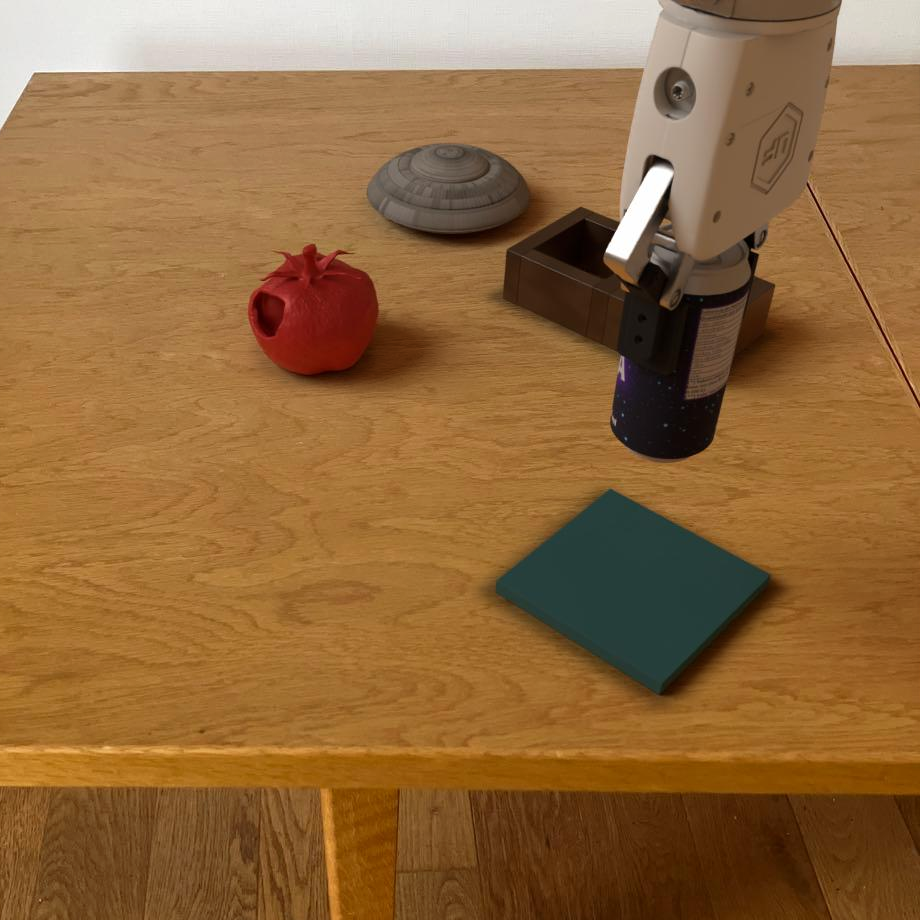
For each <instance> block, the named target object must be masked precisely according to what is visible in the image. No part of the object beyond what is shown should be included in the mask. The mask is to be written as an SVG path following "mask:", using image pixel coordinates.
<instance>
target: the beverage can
mask: <svg viewBox="0 0 920 920" xmlns="http://www.w3.org/2000/svg"><path fill="white" fill-rule="evenodd" d="M659 228H661V229H663V230H666V231H668V232H671V233H673V229H672V223H671V222H670V223H667V224H664V225H662V226H661V225H660V227H659ZM675 255H676V253H674V252H671V251H669V250H666V249H664V248H661V247H659V246H656V245H655V248H654V251H653V253H652V256H651V259H650V261H651V262H652V263H654V264H656V265H658V266H660V267H661V269H662V270H663V271H664V273H665V274H666V275H667V276H668V274H669V271H670V269H671V266H672V263H673V260H674V257H675ZM748 256H749V249H748V246H747V244H746V242H745V241H744V240H743V239H742V240H741V241H739V242H738V243H736V244H735V245H733V246H732V247H730V248H729V249H727V250H725V251H724V252H722V253H720V254H719V255H717V256H715V257H713V258H710V259H707V260H703V261H699V260H695V263H694V266H693V269H692V271H691V274H690V277H689V280H688V282H687V285H686V288H685V290H684V293H683V296H682V298H681V301H683V302H685V303H688V304H689V306H688V311H687V316H686V320H685V325H684V330H683V335H682V340H681V345H680V350H679V355H678V360H677V365H676V369H675V370H674V371H673V372H671V373H670V374H669V375H665V376H664V375H662V374H659V373H657V372H655V371H653V370H651V369H649V368H647V367H644V366H642V365H640V364H638V363H636V362H634V361H632V360H629V359H627V358H625V357H623V356H621V355H620V354H619V355H620V356H619V362H618V369H617V375H616V381H615V387H614V394H613V400H612V405H611V412H610V417H609V426H610V429H611V431H612V433H613V435H614V436H615V438H616V439H617V440H618V441H619V442H620V443H621V444H623V445H624V447H625V448H626V449H627V450H628V451H629V452H630V453H631V454H633V455H634V456H636V457H638V458H640V459H642V460H645V461H648V462H651V463H652V462H653V463H658V464H675V463H679V462H683V461H685V460H687V459H689V458H690V457H694V456H695V455H696V456H697V455H698V454H700V453H702V452H704V451H705V450H706V449H707V448H709V446H711V445H712V443H713V441H714V439H715V434H716V430H717V426H718V423H719V418H720V414H721V410H722V406H723V401H724V396H725V393H726V389H727V384H728V381H729V380H728V379H729V375H730V373H731V372H730V371H731V367H732V363H733V359H734V357H733V355H734V351H735V346H736V342H737V338H738V334H739V329H740V325H741V321H742V317H743V313H744V308H745V304H746V300H747V296H748V291H749V287H750V283H751V279H752V273H751V269H750V266H749V263H748V260H747V259H748Z"/></svg>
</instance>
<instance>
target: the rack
mask: <svg viewBox="0 0 920 920" xmlns="http://www.w3.org/2000/svg"><path fill="white" fill-rule="evenodd" d="M620 223H621V222H620V221H618V220H615V219H614V218H610V217H608V216H605V215H603V214H600V213H598V212H595V211H593V210H591V209H589V208H586V207H583V206H579V207H577V208H575V209H574V210H572V211H570V212H569V213H567V214H565V215H563V216H561V217H560V218H558V219H556V220H554V221H553V222H551V223H549V224H548V225H545V226H544V227H543V228H541V229H539V230H538V231H536V232H534V233H532V234H530V235H529V236H526V237H525V238H524V239H522V240H519V241H518V242H517V243H515V244H513V245H511V246H510V247H508V248H506V250H505V262H504V263H505V264H504V275H503V276H504V277H503V289H502V299H504V300H506V301H508V302H511V303H513V304H515V305H517V306H519V307H521V308H523V309H526V310H527V311H530V312H532V313H533V314H537V315H538V316H541V317H543V318H545V319H547V320H549V321H551V322H554V323H556V324H558V325H560V326H562V327H564V328H566V329H569V330H571V331H573V332H575V333H577V334H580V335H581V336H584V337H586V338H587V339H590V340H592V341H594V342H596V343H599V344H601V345H603V346H605V347H607V348H609V349H611V350H614V351H615V352H618V351H617V343H618V336H619V330H620V324H621V317H622V311H623V305H624V298H625V292H626V291H625V290H622V288H621V281H620V280H619V279H618V278H617V276H616V274H615V273H614V272H613V271H612V270H611V269H610V268H609V267H608V266H607V265H606V264H605V263H604V254H605V251H606V249H607V247H608V245H609V243H610V242H611V240H612V238H613V236H614V234H615V232H616V230H617V229H618V227H619V225H620ZM578 267H580V268H582V269H585V270H587V271H590V272H591V273H594V274H597V275H599V276H601V277H603V278H605V279H602V278H601V277H599V276H597V275H594V274H591V273H589V272H587V271H584V270H582V269H579V268H578ZM775 288H776V284H775V283H773V282H771V281H769V280H766V279H763V278H760V277H759V276H756V275H754V279H753V283H752V287H751V291H750V295H749V300H748V304H747V308H746V312H745V316H744V318H743V319H742V321H741V325H740V329H739V334H738V338H737V342H736V346H735V351H734V355H733V358H734V357H736V356H737V355H738V354H740V353H741V352H742V351H743V350H744V349H746V348H747V347H748V346H750V345H751V344H752V343H754V342H755V341H756V340H757V339H759V338H760V337H761V336H762V335H763V334H764V333H765V328H766V324H767V321H768V316H769V312H770V309H771V305H772V301H773V297H774V294H775Z"/></svg>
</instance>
